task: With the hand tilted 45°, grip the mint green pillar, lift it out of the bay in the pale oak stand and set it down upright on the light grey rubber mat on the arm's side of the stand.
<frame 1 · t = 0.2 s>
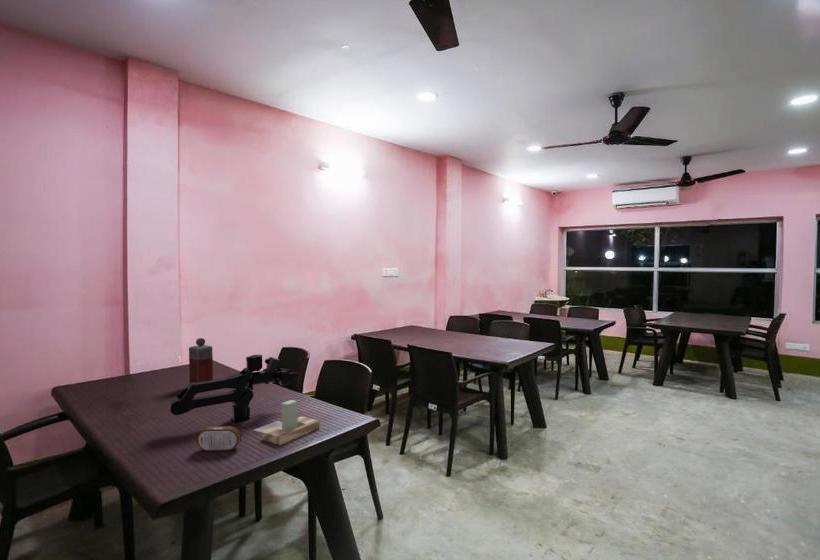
hand: (295, 372, 197), 17 cm above the table, tool horizontal, fingers open, 9 cm apart
glass decanter: (200, 387, 234), on the table
stand: (290, 433, 164), on the table
tin: (219, 450, 150), on the table
mat: (273, 428, 170), on the table
mint green pillar: (289, 417, 164), in the stand
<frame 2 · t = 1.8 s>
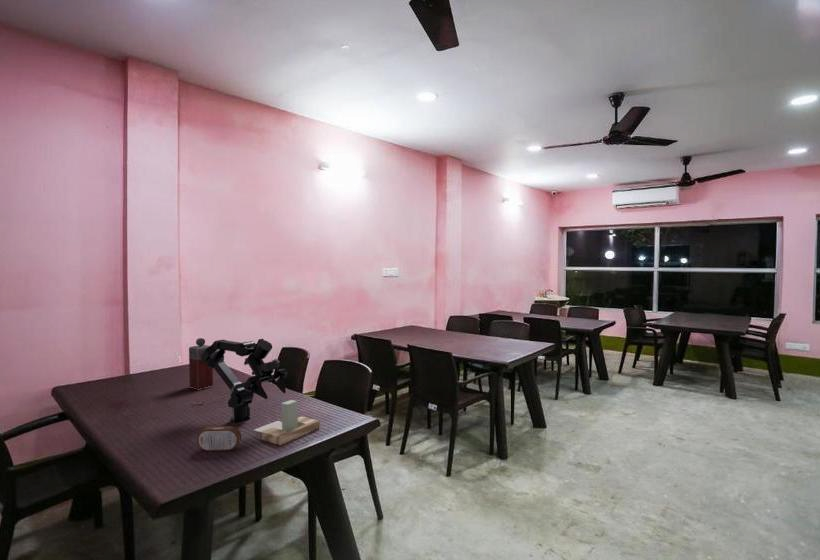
hand: (276, 395, 169), 14 cm above the table, tool tilted 45°, fingers open, 9 cm apart
nothing on the table moved.
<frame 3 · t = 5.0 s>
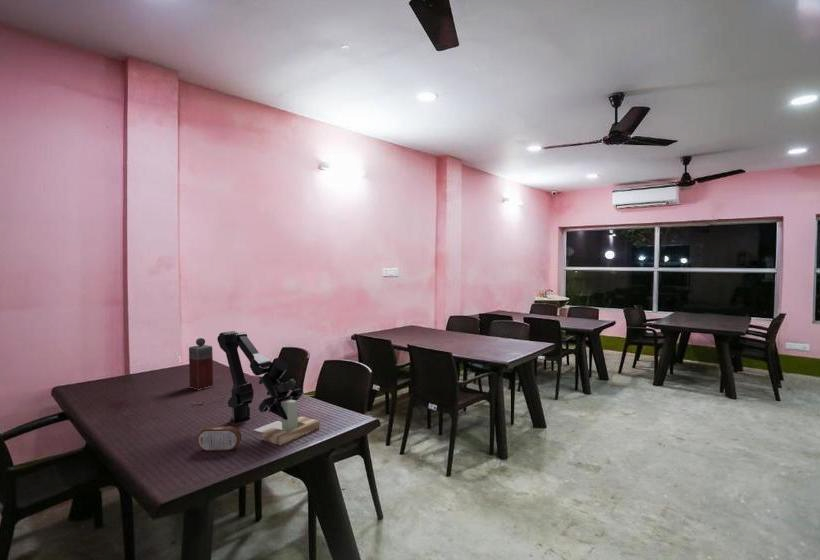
hand: (292, 417, 164), 7 cm above the table, tool tilted 45°, fingers closed on mint green pillar, 5 cm apart
mint green pillar: (289, 417, 164), in the stand, touching gripper
everything else where it was.
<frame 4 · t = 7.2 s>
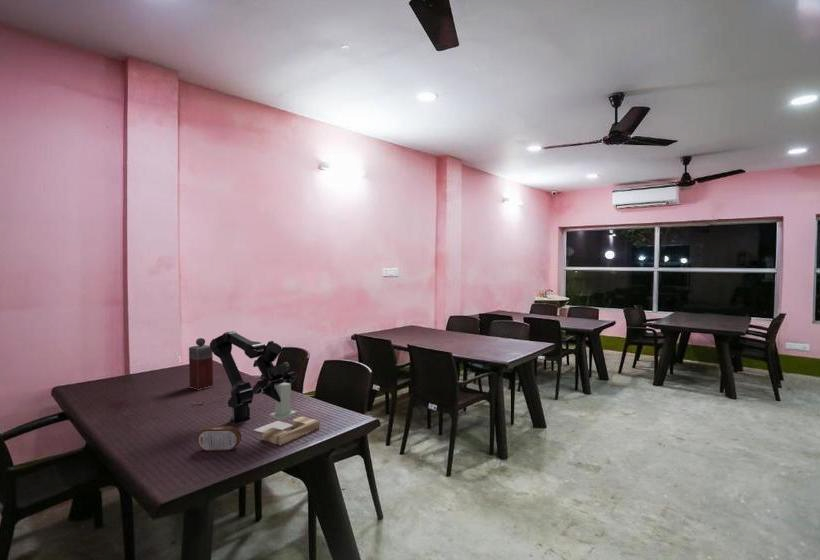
hand: (285, 399, 166), 13 cm above the table, tool tilted 45°, fingers closed on mint green pillar, 5 cm apart
mint green pillar: (283, 399, 166), point 13 cm above the table, touching gripper
everything else where it was.
when the fingers open (8 cm above the table, at t = 9.6 s): mint green pillar stays where it is, resting on mat.
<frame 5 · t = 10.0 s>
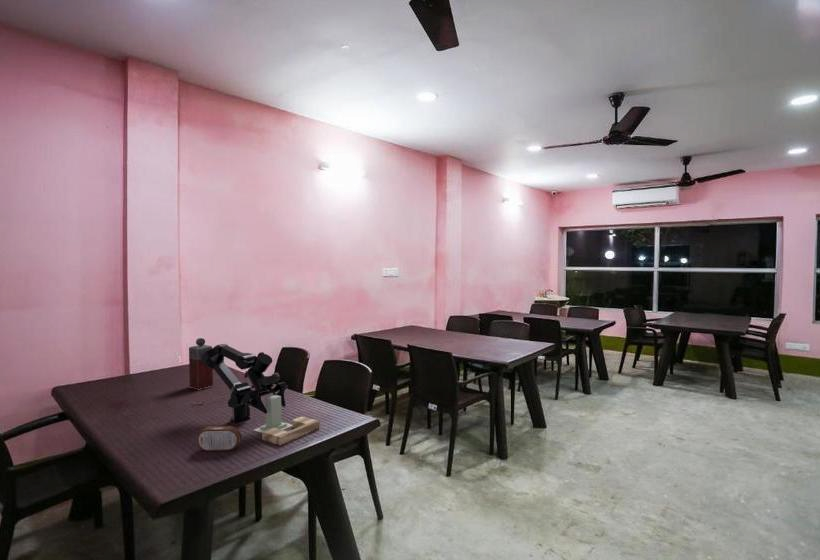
hand: (275, 409, 169), 8 cm above the table, tool tilted 45°, fingers open, 9 cm apart
mint green pillar: (273, 412, 170), on the mat
everything else where it was.
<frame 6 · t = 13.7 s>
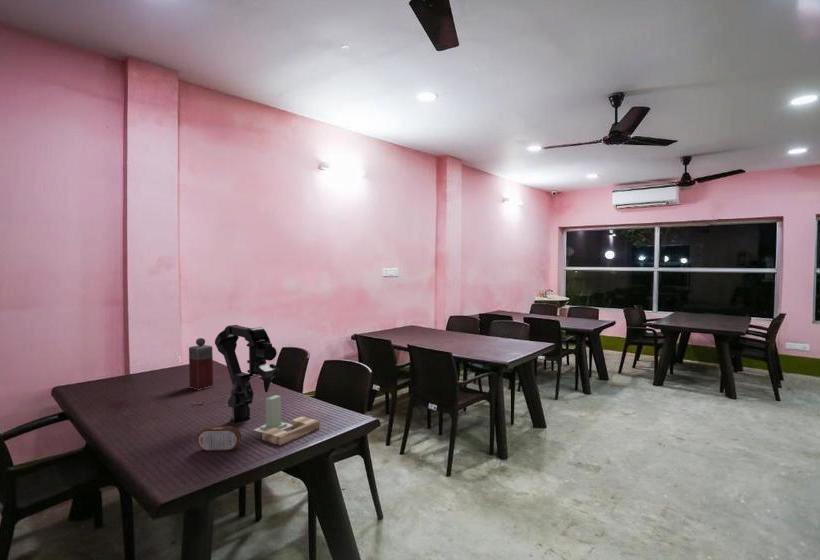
hand: (257, 394, 173), 13 cm above the table, tool pointing down, fingers open, 9 cm apart
nothing on the table moved.
at the end: mint green pillar inside the target area on the mat (0.0 cm from its centre), point 6.6 cm above the mat's base; mint green pillar tilted 0°; the gripper is holding nothing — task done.
